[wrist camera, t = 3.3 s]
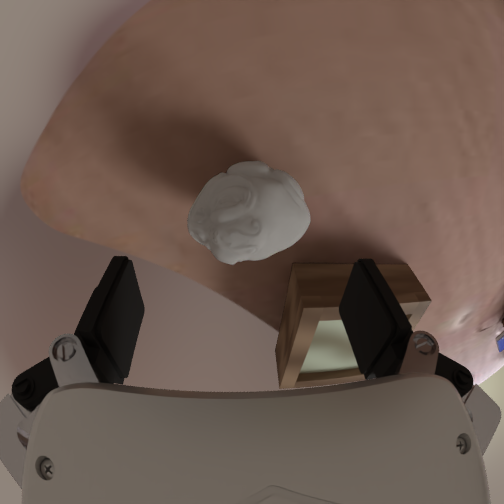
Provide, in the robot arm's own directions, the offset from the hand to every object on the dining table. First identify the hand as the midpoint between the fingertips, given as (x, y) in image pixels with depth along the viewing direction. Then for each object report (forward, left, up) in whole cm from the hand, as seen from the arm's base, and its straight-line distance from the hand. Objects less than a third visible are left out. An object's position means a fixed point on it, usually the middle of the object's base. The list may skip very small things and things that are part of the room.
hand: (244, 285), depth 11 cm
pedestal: (+13, +11, -10) cm, 19 cm away
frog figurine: (0, +1, -10) cm, 10 cm away
